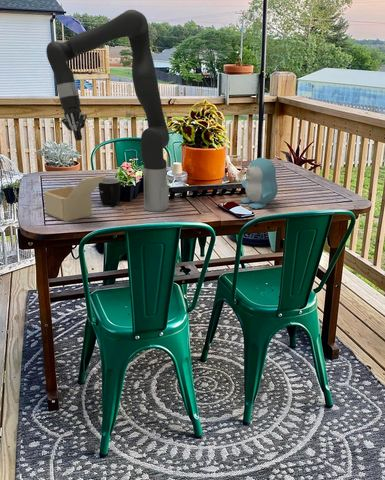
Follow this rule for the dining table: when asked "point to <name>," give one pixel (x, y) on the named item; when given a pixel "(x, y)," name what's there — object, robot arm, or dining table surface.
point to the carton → (67, 204)
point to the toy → (260, 183)
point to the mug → (109, 191)
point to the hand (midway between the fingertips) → (79, 140)
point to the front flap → (86, 186)
